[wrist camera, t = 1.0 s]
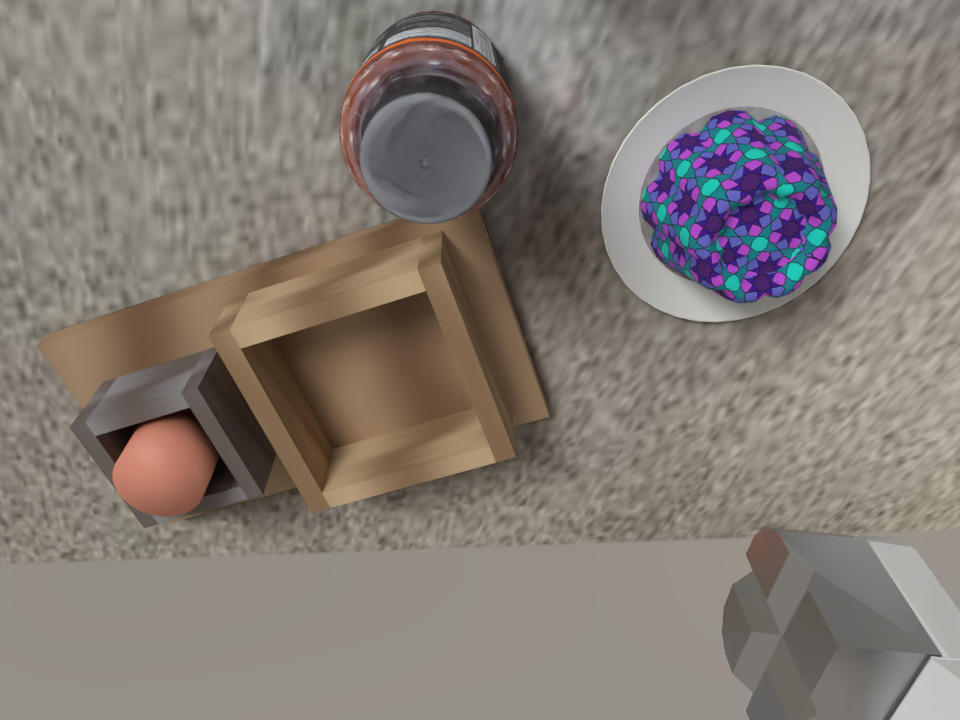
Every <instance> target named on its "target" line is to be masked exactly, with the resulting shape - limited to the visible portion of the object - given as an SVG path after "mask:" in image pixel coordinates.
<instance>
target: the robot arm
mask: <svg viewBox="0 0 960 720" xmlns="http://www.w3.org/2000/svg"><path fill="white" fill-rule="evenodd" d="M746 556H747V558H748V560H749V562H750V564H751V567H752V569H753V571H752V572H750V573H749V574H747V575H746V576H744V577H743V578H742V579H740V580H739V581H737V582H736V583H734V584H733V585H732V588H731V590H730V593H729V596H728V598H727V601H726V603H725V606H724V613H723V627H722V635H723V641H724V648H725V653H726V656H727V659H728V662H729V665H730V668H731V670H732V673H733V674H734V675H735V676H736V677H737V678H738V679H739V680H740V681H741V682H742V683H744V684H745V685H746V686H747V687H748V688H749V689H750V690H751V691H752V692H753V695H752V697H751V700H750V702H749V705H748V707H747V710H746V712H747V714H748V717H749V720H960V611H959V609H958V608H957V607H956V605H955V604H954V603H953V601H952V600H951V598H950V597H949V596H948V594H947V593H946V591H945V590H944V588H943V587H942V586H941V584H940V583H939V582H938V580H937V579H936V577H935V576H934V575H933V573H932V572H931V570H930V569H929V568H928V566H927V565H926V564H925V562H924V561H923V559H922V558H921V557H920V555H919V554H918V552H917V551H916V550H915V548H914V547H913V546H911V545H910V544H908V543H907V542H905V541H904V540H902V539H900V538H892V537H879V536H867V535H853V536H850V535H842V534H832V533H821V532H810V531H800V530H789V529H779V528H768V527H764V528H763V529H762V530H761V531H760V532H759V533H758V534H756V535H755V536H754V538H753V540H752V542H751V545H750V547H749V549H748V551H747V553H746Z"/></svg>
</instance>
